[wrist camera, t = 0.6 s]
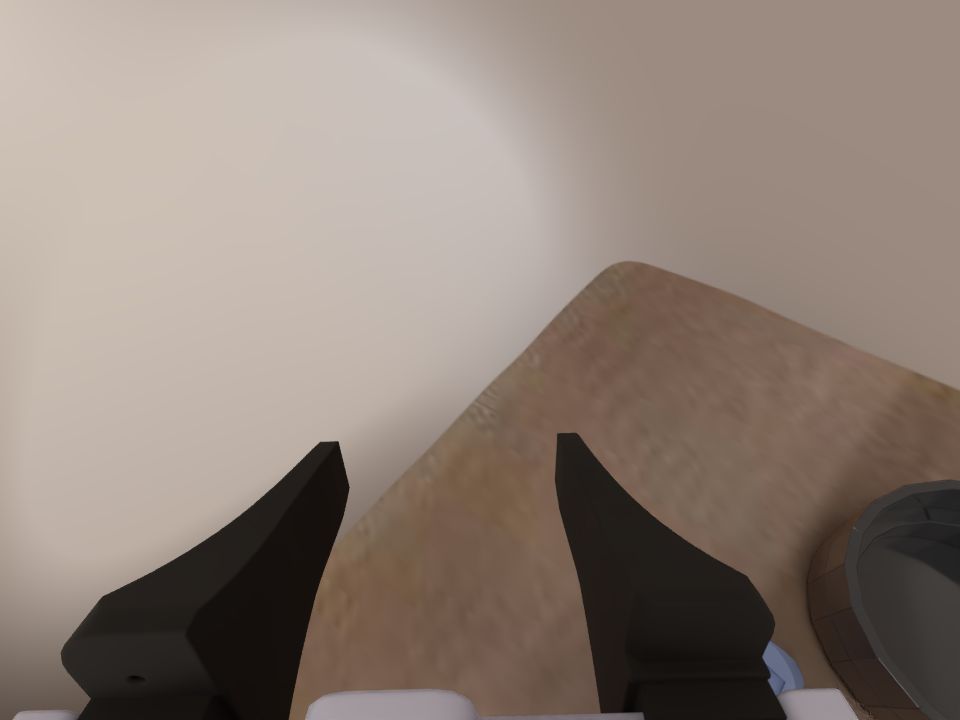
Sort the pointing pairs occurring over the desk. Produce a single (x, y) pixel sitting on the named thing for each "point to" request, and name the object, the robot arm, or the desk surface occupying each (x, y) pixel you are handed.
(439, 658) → the desk surface
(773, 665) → the decorative dice
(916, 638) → the dark grey round bowl
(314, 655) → the desk surface
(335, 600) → the desk surface
